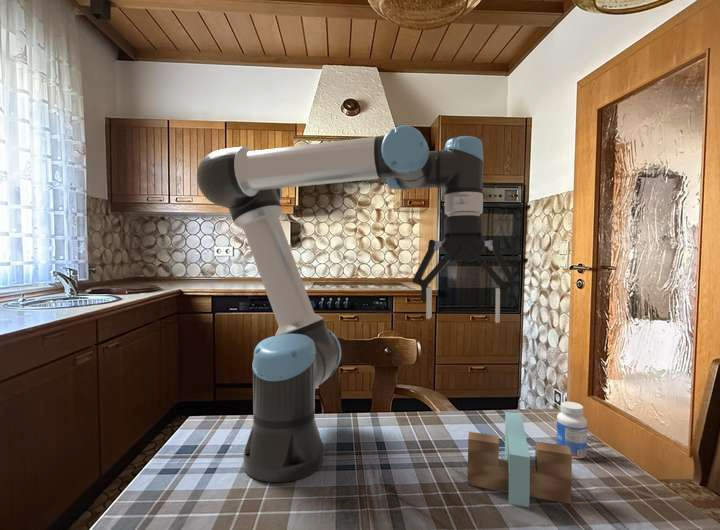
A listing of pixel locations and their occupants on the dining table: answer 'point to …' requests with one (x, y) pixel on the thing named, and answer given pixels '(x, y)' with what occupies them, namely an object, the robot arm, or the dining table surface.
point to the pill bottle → (572, 429)
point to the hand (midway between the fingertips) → (462, 319)
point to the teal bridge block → (517, 460)
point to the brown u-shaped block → (545, 475)
